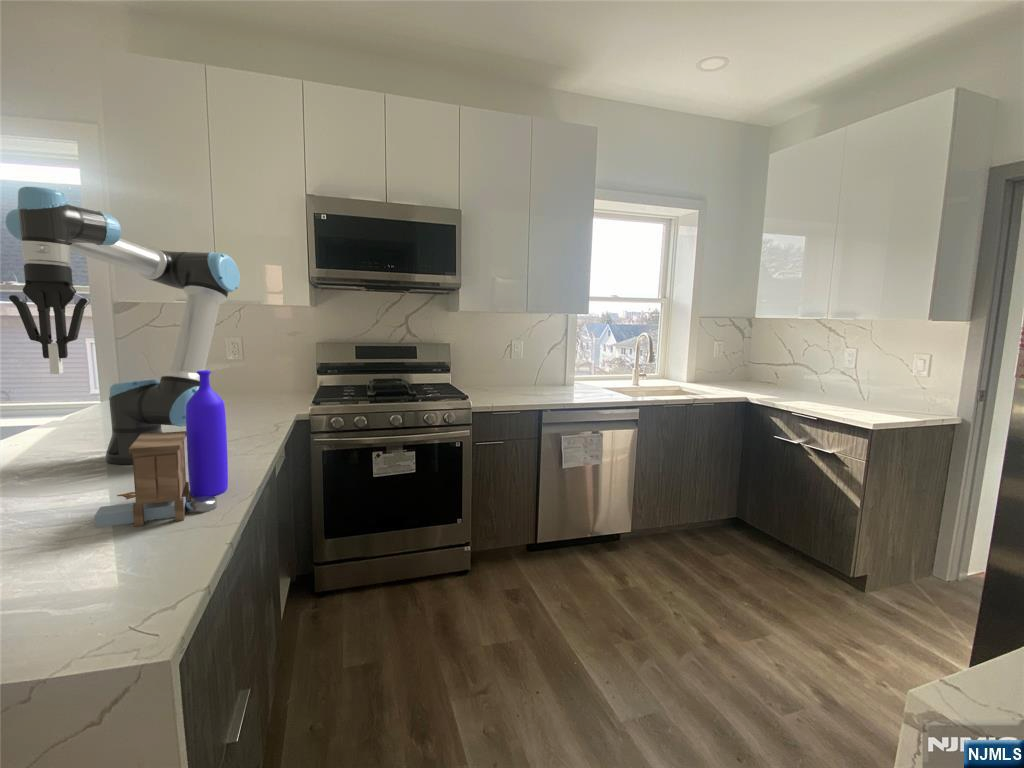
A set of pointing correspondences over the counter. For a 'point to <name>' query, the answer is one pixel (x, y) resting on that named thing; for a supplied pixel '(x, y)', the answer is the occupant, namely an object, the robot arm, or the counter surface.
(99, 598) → the counter surface
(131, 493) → the saw handle
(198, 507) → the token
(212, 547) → the counter surface
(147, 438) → the cabinet
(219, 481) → the bottle
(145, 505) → the batten
